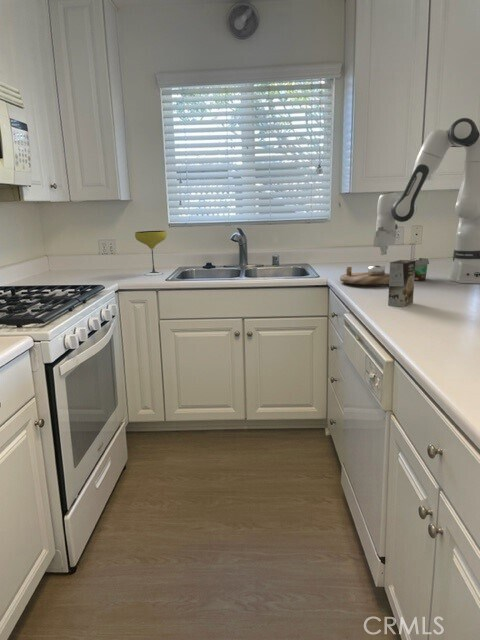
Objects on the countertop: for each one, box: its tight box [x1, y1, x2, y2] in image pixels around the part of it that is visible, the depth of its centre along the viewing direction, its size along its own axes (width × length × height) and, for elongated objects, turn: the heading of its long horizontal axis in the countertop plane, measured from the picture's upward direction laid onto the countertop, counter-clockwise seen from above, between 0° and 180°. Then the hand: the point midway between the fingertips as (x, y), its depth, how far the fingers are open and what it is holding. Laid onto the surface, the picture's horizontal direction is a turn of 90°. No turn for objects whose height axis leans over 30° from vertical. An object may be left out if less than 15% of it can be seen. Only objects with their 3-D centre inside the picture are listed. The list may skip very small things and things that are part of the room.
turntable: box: [339, 266, 390, 286], centre depth 223 cm, size 28×28×5 cm
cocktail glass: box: [134, 230, 167, 273], centre depth 277 cm, size 18×18×25 cm
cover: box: [367, 264, 386, 276], centre depth 228 cm, size 8×8×4 cm
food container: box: [414, 257, 430, 282], centre depth 225 cm, size 12×6×10 cm, turn 143°
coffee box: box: [387, 259, 416, 308], centre depth 175 cm, size 9×6×16 cm
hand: (383, 254), depth 234 cm, fingers closed
